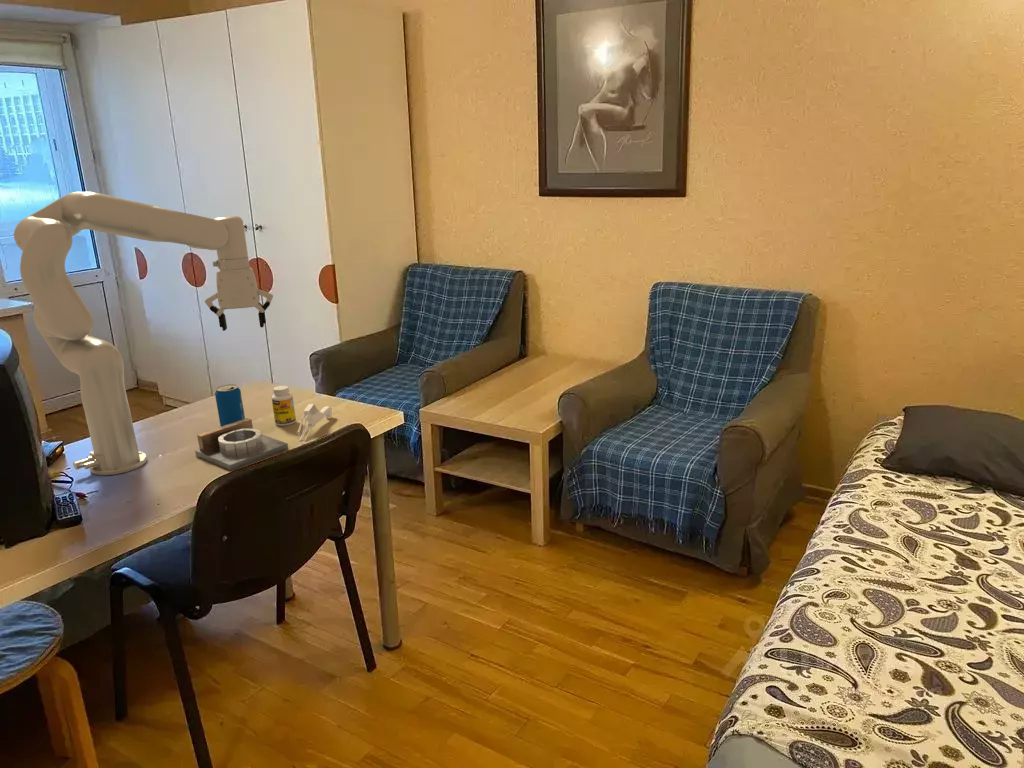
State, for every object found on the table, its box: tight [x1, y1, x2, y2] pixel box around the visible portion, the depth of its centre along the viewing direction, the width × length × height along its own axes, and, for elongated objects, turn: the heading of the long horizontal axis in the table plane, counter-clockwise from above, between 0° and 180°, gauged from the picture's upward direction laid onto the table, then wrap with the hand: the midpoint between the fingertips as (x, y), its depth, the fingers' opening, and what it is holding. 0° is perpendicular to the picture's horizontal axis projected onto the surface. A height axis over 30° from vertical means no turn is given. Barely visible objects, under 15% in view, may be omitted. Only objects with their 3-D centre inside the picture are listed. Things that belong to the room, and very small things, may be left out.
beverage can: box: [214, 383, 246, 427], centre depth 208 cm, size 6×6×12 cm
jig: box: [194, 417, 289, 472], centre depth 192 cm, size 16×16×6 cm
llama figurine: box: [296, 403, 333, 442], centre depth 206 cm, size 2×11×18 cm
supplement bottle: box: [271, 385, 297, 427], centre depth 211 cm, size 6×6×10 cm
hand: (243, 328), depth 208 cm, fingers open, 9 cm apart
